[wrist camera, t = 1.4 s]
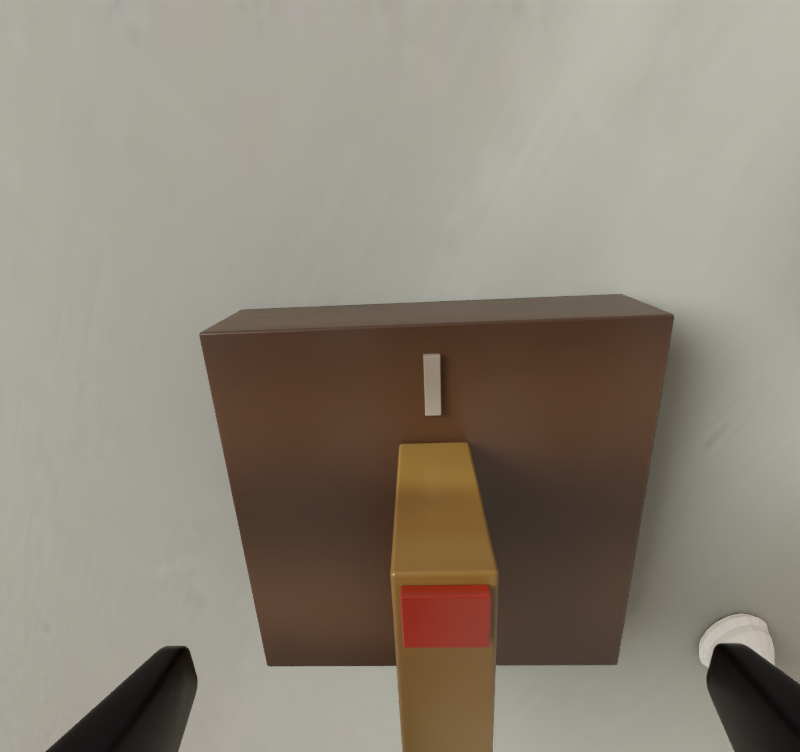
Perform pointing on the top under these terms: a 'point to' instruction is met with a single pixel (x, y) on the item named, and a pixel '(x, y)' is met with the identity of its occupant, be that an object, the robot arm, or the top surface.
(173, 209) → the top surface
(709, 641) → the chess pawn
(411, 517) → the red-tipped wooden block
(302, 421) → the lock plate
